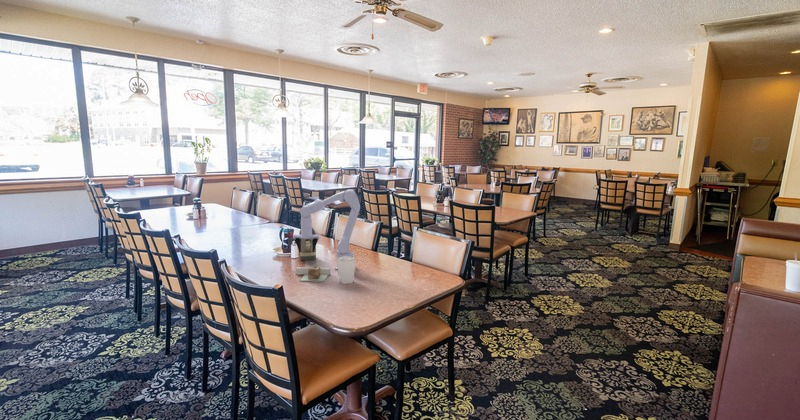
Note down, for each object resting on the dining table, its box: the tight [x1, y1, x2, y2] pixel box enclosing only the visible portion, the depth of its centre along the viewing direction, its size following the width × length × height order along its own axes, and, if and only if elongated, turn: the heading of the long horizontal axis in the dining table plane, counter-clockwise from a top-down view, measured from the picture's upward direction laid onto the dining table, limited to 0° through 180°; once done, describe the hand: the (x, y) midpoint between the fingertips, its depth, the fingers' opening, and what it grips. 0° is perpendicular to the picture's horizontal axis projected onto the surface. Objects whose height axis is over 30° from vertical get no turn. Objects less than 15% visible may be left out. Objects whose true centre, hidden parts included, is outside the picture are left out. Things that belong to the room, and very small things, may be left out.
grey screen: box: [295, 266, 331, 276], centre depth 199 cm, size 18×1×4 cm, turn 90°
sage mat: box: [299, 275, 329, 283], centre depth 193 cm, size 12×9×1 cm
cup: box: [336, 256, 356, 285], centre depth 189 cm, size 9×9×12 cm
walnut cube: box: [308, 265, 321, 279], centre depth 193 cm, size 5×5×5 cm
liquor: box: [298, 227, 317, 262], centre depth 226 cm, size 9×9×30 cm
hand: (306, 251), depth 209 cm, fingers open, 7 cm apart
